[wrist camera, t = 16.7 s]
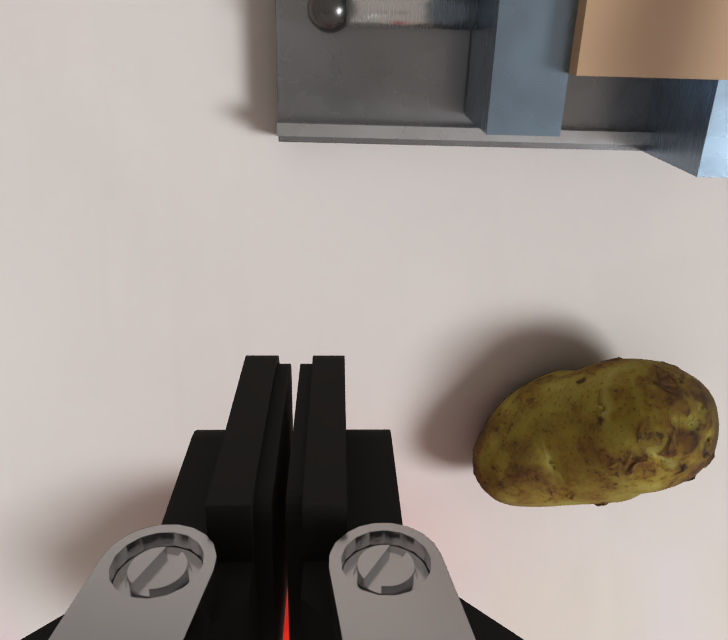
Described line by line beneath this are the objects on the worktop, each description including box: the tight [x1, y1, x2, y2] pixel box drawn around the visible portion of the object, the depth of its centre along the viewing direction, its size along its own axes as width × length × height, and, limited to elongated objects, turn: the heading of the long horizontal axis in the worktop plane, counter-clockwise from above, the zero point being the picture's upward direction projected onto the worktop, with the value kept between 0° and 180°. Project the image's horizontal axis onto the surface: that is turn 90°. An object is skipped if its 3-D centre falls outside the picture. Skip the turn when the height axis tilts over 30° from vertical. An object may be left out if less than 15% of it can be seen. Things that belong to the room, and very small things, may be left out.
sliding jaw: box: [307, 0, 579, 137], centre depth 29 cm, size 10×9×6 cm
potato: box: [473, 357, 719, 507], centre depth 38 cm, size 8×13×8 cm, turn 104°
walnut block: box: [569, 0, 728, 80], centre depth 29 cm, size 6×4×7 cm, turn 88°
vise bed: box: [276, 0, 728, 178], centre depth 30 cm, size 21×12×8 cm, turn 88°
